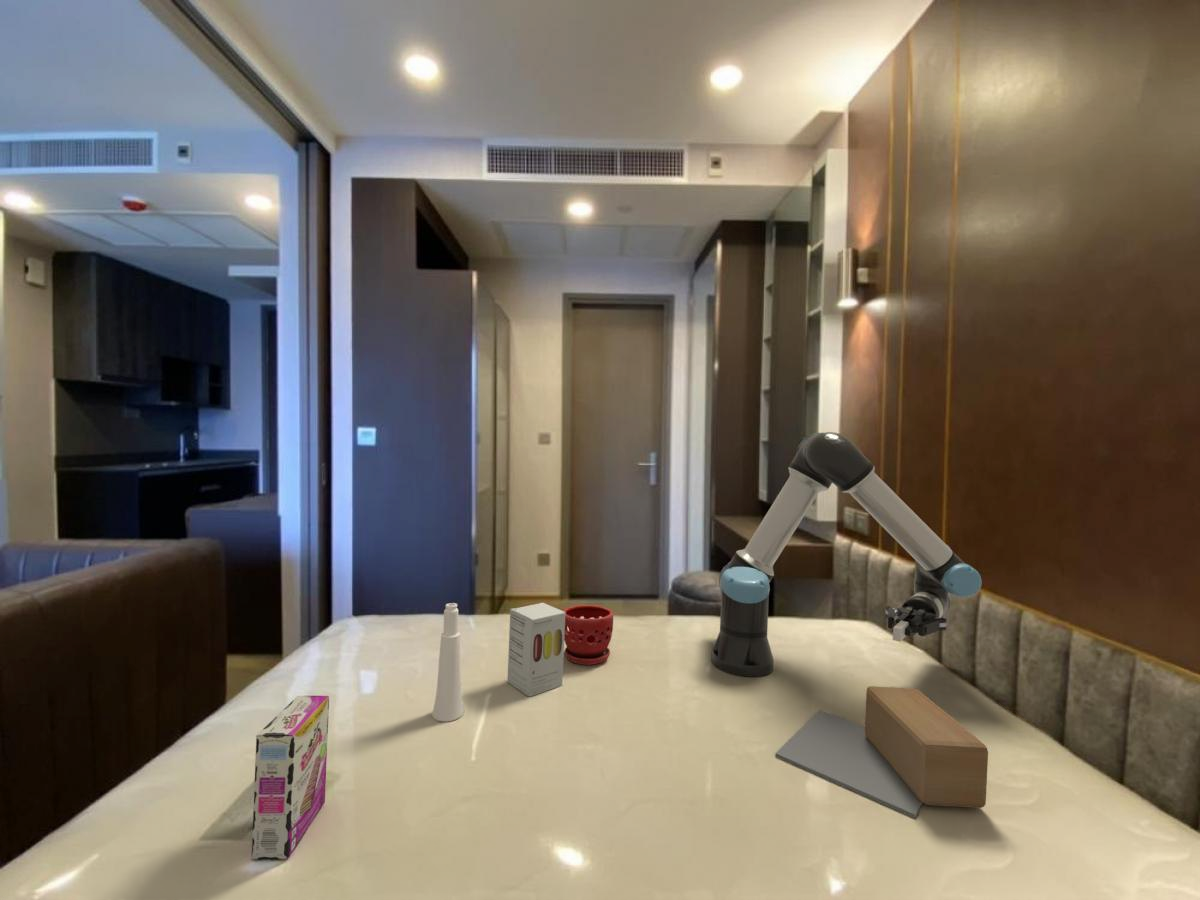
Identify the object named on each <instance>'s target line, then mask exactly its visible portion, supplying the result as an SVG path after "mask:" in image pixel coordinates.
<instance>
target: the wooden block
mask: <svg viewBox="0 0 1200 900" xmlns="http://www.w3.org/2000/svg"><path fill="white" fill-rule="evenodd" d="M864 720H865V722H864V726H865V734H866V737H867V738H868V739H869V741H870V742H871V743H872V744H873V745H874V746H875V748H876V749H877V750H878V751H879V752H880V754H881V755H882V756H883V757H884V758H885V760H886V761H887V762H888V763H889V764H890V766H891V767H892V768H893V769H894V770H895V771H896V773H897V774H898V775H899V776H900V777H901V779H902V780H903V781H904V782H905V783H906V785H907V786H908V787H909V788H910V789H911V791H912V792H913V793H914V794H915V795H916V796H917V798H918V799H919V800H920V801H921V802H922V804H925V805H926V806H927V805H928V806H940V807H941V806H943V807H944V806H945V807H957V808H958V807H960V808H961V807H962V808H976V809H979V808H980V809H981V808H984V807H985V806H986V804H987V784H988V783H987V782H988V765H989V764H988V763H989V762H988V761H989V750H988V747H987V746H986V745H985V744H984V743H983V742H982V741H980V739H978V738H977V737H976V735H974V734H972V733H971V732H970V731H969V730H968V729H966V728H965V727H964V726H963V725H961V724H960V723H959V722H958V721H957V720H955V719H954V717H952V716H951V715H949V714H948V713H947V712H946V711H944V710H943V709H942V708H941V707H940V706H938V705H937V704H936V703H935V702H933V700H931V699H930V698H929V697H928V696H927V695H925V694H924V693H923V692H922V691H921V690H919V689H916V688H914V687H913V688H911V687H909V688H908V687H893V686H892V687H891V686H889V687H888V686H875V685H874V686H868V687H866V697H865V718H864Z"/></svg>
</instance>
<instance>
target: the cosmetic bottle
mask: <svg viewBox="0 0 1200 900" xmlns="http://www.w3.org/2000/svg"><path fill="white" fill-rule="evenodd" d="M457 607H458V603H455V602H451V603H446V604H445V609H444V610H443V632H442V633H441V635H440V643H439V645H440V646H439V657H438V669H437V683H436V692H435V693H436V694H435V699H434V705H433V710H432V717H433V719H434V720H436V721H438V722H441V723H442V722H445V723H446V722H453V721H456V720H458V719H460V718H461V717H463V715H464V713H465V710H464V703H463V701H464V700H463V692H462V675H461V674H462V672H461V671H462V670H461V669H462V667H461V663H462V662H461V659H462V658H461V633H460V631H459V609H458V608H457Z"/></svg>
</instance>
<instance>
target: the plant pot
mask: <svg viewBox="0 0 1200 900" xmlns="http://www.w3.org/2000/svg"><path fill="white" fill-rule="evenodd" d="M562 611H563V612H565V634H564V645H566V647H565V648H564V656H565V657H566V658H567V659H568V660H569V661H571V662H573V663H575V664H579V665H587V666H588V665H596V664H597V665H598V664H601V663H602V662H605V661H606V660H607V659H608V658H609V657H610V654H611V649H610V648H609V645H610V643H611V640H612V636H613V630H614V613H613V611H612V610H611V609H609V608H607V607H604V606H601V605H600V606H599V605H591V604H589V605H588V604H587V605H586V604H584V605H583V604H582V605H575V606H571V607H567V608H565V609H564V610H562ZM582 617H583V618H582Z"/></svg>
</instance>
